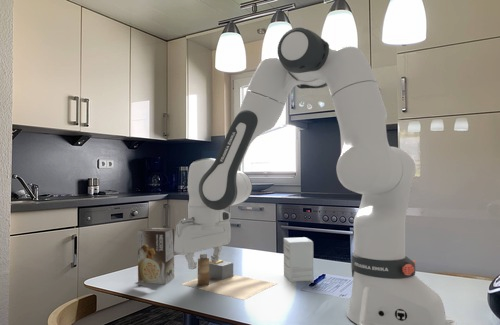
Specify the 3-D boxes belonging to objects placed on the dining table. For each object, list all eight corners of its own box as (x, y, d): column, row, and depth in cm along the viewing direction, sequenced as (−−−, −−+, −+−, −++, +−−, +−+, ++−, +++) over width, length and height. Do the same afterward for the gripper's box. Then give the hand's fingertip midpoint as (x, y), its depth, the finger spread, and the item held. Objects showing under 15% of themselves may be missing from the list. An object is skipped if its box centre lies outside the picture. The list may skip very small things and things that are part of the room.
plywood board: (276, 287, 105) (276, 283, 106) (243, 304, 92) (243, 299, 92) (217, 275, 118) (217, 271, 118) (180, 288, 105) (180, 284, 105)
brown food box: (175, 281, 112) (175, 227, 112) (166, 288, 105) (166, 231, 106) (147, 279, 114) (147, 226, 114) (136, 286, 107) (136, 230, 108)
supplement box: (306, 277, 116) (306, 236, 116) (314, 284, 109) (313, 241, 109) (283, 278, 115) (283, 237, 115) (289, 286, 107) (289, 241, 108)
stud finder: (233, 275, 113) (233, 261, 113) (222, 279, 109) (222, 264, 109) (216, 272, 117) (216, 258, 117) (205, 275, 113) (205, 261, 113)
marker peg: (211, 283, 106) (211, 254, 106) (203, 286, 103) (203, 256, 103) (203, 281, 108) (203, 252, 108) (195, 284, 105) (195, 254, 105)
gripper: (185, 220, 95) (185, 275, 95) (234, 213, 112) (234, 259, 112) (168, 219, 99) (168, 271, 99) (218, 212, 116) (218, 256, 115)
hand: (204, 265), depth 105 cm, fingers open, 8 cm apart
